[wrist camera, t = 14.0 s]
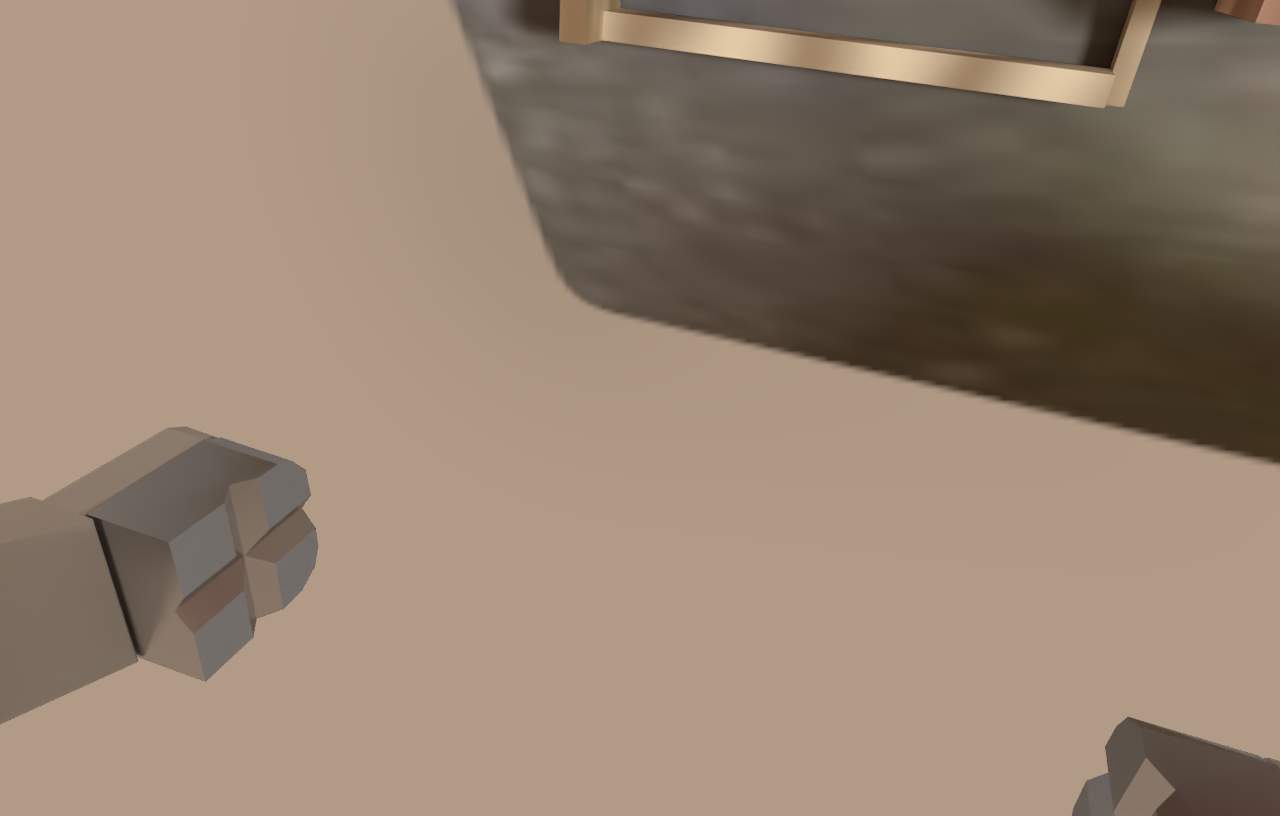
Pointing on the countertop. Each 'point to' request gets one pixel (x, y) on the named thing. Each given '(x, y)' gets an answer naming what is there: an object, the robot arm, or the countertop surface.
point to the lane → (889, 50)
